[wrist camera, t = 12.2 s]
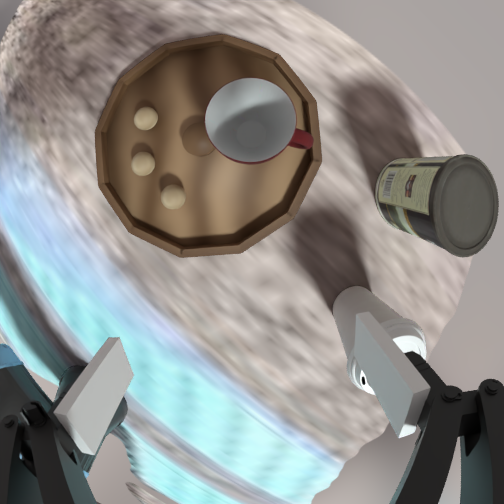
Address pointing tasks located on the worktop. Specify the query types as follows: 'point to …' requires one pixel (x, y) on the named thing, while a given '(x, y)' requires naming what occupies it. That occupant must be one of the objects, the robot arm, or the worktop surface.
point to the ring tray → (205, 177)
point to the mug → (253, 121)
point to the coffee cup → (395, 325)
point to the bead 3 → (173, 196)
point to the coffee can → (440, 201)
